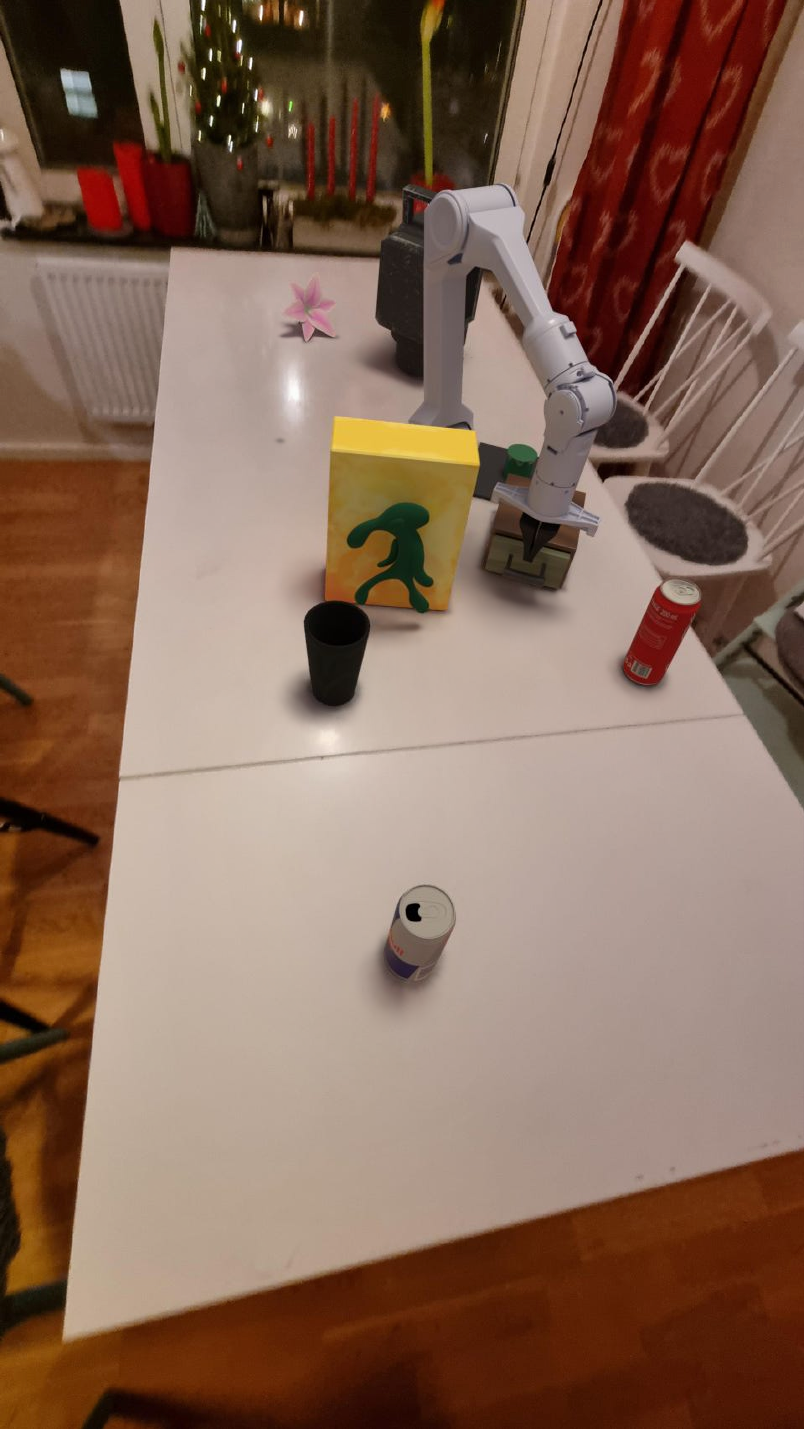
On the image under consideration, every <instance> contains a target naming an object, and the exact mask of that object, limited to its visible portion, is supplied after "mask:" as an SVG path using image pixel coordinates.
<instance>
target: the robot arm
mask: <svg viewBox="0 0 804 1429" xmlns="http://www.w3.org/2000/svg"><path fill="white" fill-rule="evenodd" d="M437 193H438V194H437V195H436V196H435V197H434V199H433V200H432V201H431V202H430V204H427V206H426V207H425V209H424V210H423V212H424V379H423V401H422V403H421V404H420V405H419V407H418V408H417V409H416V410H415V411H414V413H413V414H412V415H411V416H410V417H409V419H408V420H407V424H415V425H424V426H434V427H443V428H453V429H462V430H472V431H475V432H476V430H475V426H474V412H473V411H472V410H471V409H470V408H469V407H468V406H466V404H464V403H463V378H464V377H463V376H464V374H463V373H464V370H463V369H464V351H465V350H464V347H465V345H464V321H465V292H466V276H467V274H468V273H469V272H470V271H471V270H472V269H473V268H474V267H475V266H476V267H480V268H484V269H485V270H489V271H491V272H492V274H493V275H494V277H495V278H496V281H497V282H498V284H499V286H500V288H501V289H502V291H503V293H504V294H505V296H506V297H507V299H508V301H509V303H510V304H511V306H512V308H513V311H514V312H515V313H516V315H517V316H518V318H519V320H520V322H521V323H522V325H523V327H524V329H525V332H524V337H523V341H522V348H523V350H524V353H525V355H526V357H527V359H528V361H529V363H530V365H531V367H532V369H533V372H534V373H535V376H536V378H537V381H538V382H539V384H540V386H541V388H542V390H543V392H544V394H545V397H546V398H545V399H544V401H543V402H544V403H543V417H544V418H543V419H544V422H545V428H544V431H543V437H544V438H543V442H542V445H541V450H540V453H539V456H538V457H539V459H538V462H537V465H536V468H535V471H534V474H533V478H532V481H531V484H530V487H529V488H528V487H520V486H512V485H507V484H503V483H499V482H498V483H497V484H496V486H495V488H494V490H493V494H492V497H491V501H490V502H491V503H494V504H499V502H502V503H505V504H508V505H511V506H514V507H517V508H519V509H520V510H522V511H523V513H522V516H521V518H520V521H519V527H520V529H521V532H522V536H523V544H524V554H523V560H524V561H527V562H530V563H532V562H533V560H534V558H535V556H536V555H537V553H538V552H539V551H540V549H541V548H542V547H543V546H544V545H545V544H546V543H547V542H549V541H550V540H551V539H553V538H554V537H555V536H556V534H557V533H558V531H559V528H560V526H561V524H564V525H569V526H571V527H574V528H577V529H580V531H583V532H585V535H587V536H588V537H591V538H595V535H596V533H597V531H598V528H599V526H600V523H601V520H602V517H601V516H599V515H597V514H596V515H595V514H593V513H592V512H590V511H588V510H586V509H585V508H584V509H583V508H581V507H580V506H578V505H576V504H575V503H573V502H571V501H572V498H573V495H574V493H575V490H577V488H578V485H579V482H580V479H581V476H582V474H583V471H584V469H585V466H586V463H587V460H588V457H589V455H590V453H591V451H592V450H591V449H592V447H593V445H594V441H595V439H596V437H597V433H598V430H599V429H598V427H601V426H603V425H604V424H606V423H608V422H609V421H610V420H611V419H612V418H613V416H614V415H615V413H616V409H617V404H618V403H617V400H618V399H617V392H616V388H615V386H614V382H613V380H612V379H611V378H610V377H609V376H608V375H607V374H605V373H604V372H600V371H599V370H598V368H597V367H596V366H595V365H593V364H591V362H590V361H589V359H588V357H587V355H586V352H585V350H584V348H583V346H582V344H581V342H580V340H579V338H578V336H577V334H576V333H577V328H576V326H575V324H574V322H573V321H570V319H569V317H568V316H567V315H565V314H562V313H559V312H556V311H554V310H553V309H552V306H551V303H550V300H549V298H548V294H547V292H546V290H545V288H544V284H543V282H542V280H541V277H540V275H539V273H538V270H537V266H536V265H535V261H534V259H533V257H532V254H531V251H530V248H529V246H528V243H527V240H526V239H525V235H524V230H525V225H526V213H525V212H524V210H523V209H522V207H521V206H520V203H519V199H518V196H517V194H516V192H515V190H514V189H513V187H511V186H510V185H509V184H507V183H505V182H497V183H493V184H492V185H486V186H478V187H471V188H464V189H455V190H451V189H443V190H440V191H439V192H437ZM541 521H542V523H541V525H540V522H541ZM539 525H540V527H539ZM538 528H539V530H538ZM537 530H538V533H537ZM536 534H537V536H536ZM535 538H536V540H535ZM534 542H535V543H534Z"/></svg>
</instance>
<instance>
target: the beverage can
mask: <svg viewBox="0 0 804 1429" xmlns="http://www.w3.org/2000/svg"><path fill="white" fill-rule="evenodd" d="M701 603H702V591H701V589H700V588H699V586H698V585H697V584H695V583H694V582H693V581H691V580H689V579H686V578H683V577H678V576H677V577H676V576H675V577H673V576H672V577H668V578H666V579H664V580H663V581H662V582H661V583H660V584H659V585H658V586H657V587H655V590H654V591H653V594H652V596H651V599H650V600H649V603H648V605H647V607H646V609H645V612H644V614H643V616H642V619H641V620H640V624H639V625H638V628H637V630H636V632H635V635H634V637H633V639H632V641H631V643H630V646H629V648H628V650H627V653H626V655H625V657H624V659H623V662H622V668H623V672H624V673H625V675H626V677H627V678H628V679H630V680H631V681H633V682H635V683H637V684H640V685H644V686H652V685H656V684H658V683H659V682H661V681H662V680H663V679H664V677H665V675H666V674H667V671H668V669H669V668H670V665H671V663H672V661H673V659H674V658H675V656H676V654H677V652H678V650H679V648H680V647H681V644H682V643H683V641H684V638H685V637H686V634H687V632H688V630H689V629H690V627H691V626H692V623H693V621H694V619H695V617H696V615H697V613H698V612H699V610H700V608H701Z"/></svg>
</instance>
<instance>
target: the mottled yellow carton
mask: <svg viewBox="0 0 804 1429" xmlns="http://www.w3.org/2000/svg"><path fill="white" fill-rule="evenodd" d="M478 447H479V445H478V439H477V432H476V430H475V431H472V430H462V429H453V428H443V427H434V426H424V425H415V424H408V423H403V422H395V421H385V420H376V419H375V420H374V419H367V418H359V417H357V418H356V417H349V416H348V417H347V416H338V415H335V416H333V418H332V430H331V439H330V449H329V477H328V501H327V503H328V504H327V505H328V506H327V528H326V529H327V530H326V556H325V557H326V559H325V583H324V584H325V585H324V586H325V587H324V588H325V589H324V601H325V602H326V601H334V600H337V601H345V602H349V603H352V604H357V606H364V605H369V606H370V605H371V606H372V605H373V606H385V607H395V608H396V607H397V608H410V609H411V608H412V609H414V611H416V612H417V613H419V614H422V615H423V614H425V613H427V612H428V610H433V611H434V610H435V611H447V609H448V606H449V601H450V597H451V593H452V588H453V584H454V581H455V580H454V579H455V574H456V570H457V568H458V567H457V566H458V563H459V557H460V554H461V550H462V545H463V541H464V536H465V532H466V527H467V524H468V519H469V515H470V510H471V506H472V501H473V497H474V496H473V493H474V489H475V484H476V480H477V476H478V471H479V467H480V461H479V453H478Z"/></svg>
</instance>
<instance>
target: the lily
mask: <svg viewBox="0 0 804 1429" xmlns="http://www.w3.org/2000/svg"><path fill="white" fill-rule="evenodd" d="M288 285H289V288H290V291H291V293H292V295H293V298H294V300H293V301H292V302H291V303H290V304H289V305H288V306H287V307H286V308H285V309H284V310H283V311H282V316H283V317H285V318H287V319H290V320H293V321H297V322H298V324H301V327H302V333H303V337H304V341H305V342H308V341H309V340H310V338H311V337H312V335H313V333H314V332H315V329H317V330H318V331H321V332H322V333H324V334H326V335H328V336H330V337H332V338H336V331H335V327H334V325H333V322H332V319H331V317H330V315H329V313H330V312H331V311H332V310H333V309H334V308H335V307H336V306H337V302H336V301H335V300H333V299H330V298H327V297H324V290H323V283H322V279H321V275H320V273H319V271H315V272H314V273H313V275H312V276H311V278H310V279H309V281H308V282H307V284H306V285H305V288H304V287H302V286H301V285H299V284H298V283H296V282H293V281H292V280H288Z"/></svg>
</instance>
